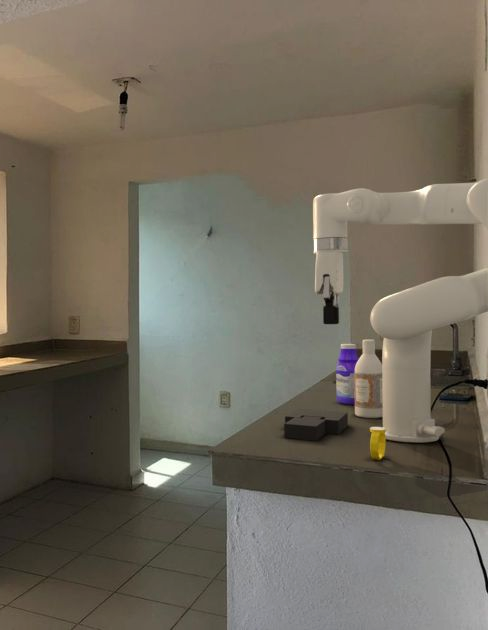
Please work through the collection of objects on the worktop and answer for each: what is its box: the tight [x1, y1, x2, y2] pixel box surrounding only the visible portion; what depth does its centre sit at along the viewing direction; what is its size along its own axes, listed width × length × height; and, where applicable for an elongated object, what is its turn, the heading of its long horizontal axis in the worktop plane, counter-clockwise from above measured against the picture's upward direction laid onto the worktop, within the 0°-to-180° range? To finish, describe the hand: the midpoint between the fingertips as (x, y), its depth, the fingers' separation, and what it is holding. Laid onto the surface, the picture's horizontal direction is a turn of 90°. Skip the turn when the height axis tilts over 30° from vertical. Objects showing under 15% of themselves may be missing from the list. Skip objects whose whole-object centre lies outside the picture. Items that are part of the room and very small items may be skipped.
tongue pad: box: [283, 416, 327, 442], centre depth 150 cm, size 7×12×3 cm, turn 146°
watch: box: [369, 426, 387, 461], centre depth 127 cm, size 6×3×6 cm, turn 141°
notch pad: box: [284, 408, 349, 435], centre depth 157 cm, size 12×12×3 cm
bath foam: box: [354, 339, 383, 419], centre depth 170 cm, size 7×7×20 cm
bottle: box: [335, 343, 360, 406], centre depth 190 cm, size 7×6×17 cm
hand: (331, 323), depth 155 cm, fingers closed
